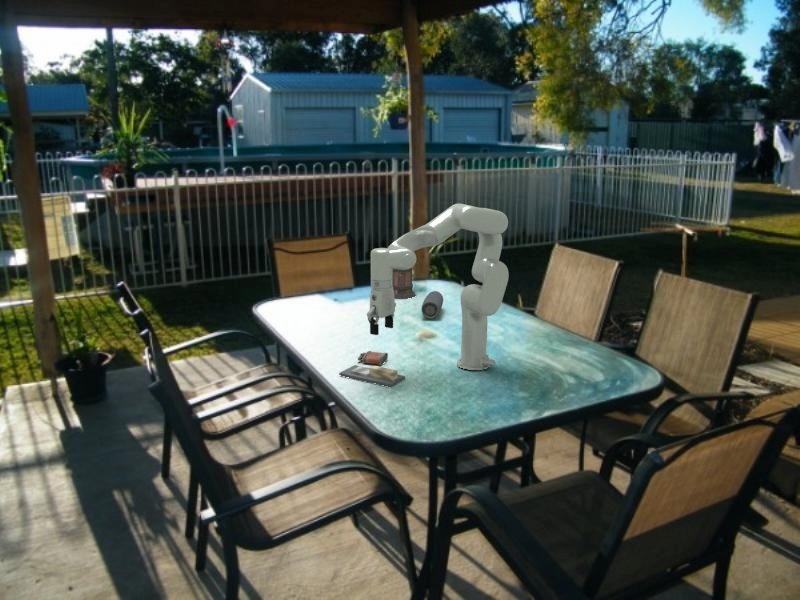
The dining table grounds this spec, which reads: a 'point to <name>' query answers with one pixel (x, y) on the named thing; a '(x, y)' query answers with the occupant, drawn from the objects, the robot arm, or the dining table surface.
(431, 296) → the bluetooth speaker
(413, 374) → the dining table surface
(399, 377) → the mat
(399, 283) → the tankard
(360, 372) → the turner
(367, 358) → the lighter
